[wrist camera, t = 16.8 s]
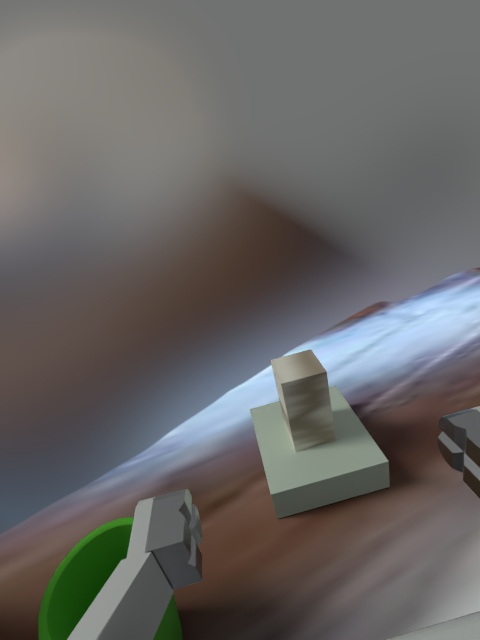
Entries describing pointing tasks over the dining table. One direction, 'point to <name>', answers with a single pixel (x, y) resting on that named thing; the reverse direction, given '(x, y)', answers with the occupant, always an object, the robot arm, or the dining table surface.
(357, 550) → the dining table surface
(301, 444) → the cream block
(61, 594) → the cup
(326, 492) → the base plinth
